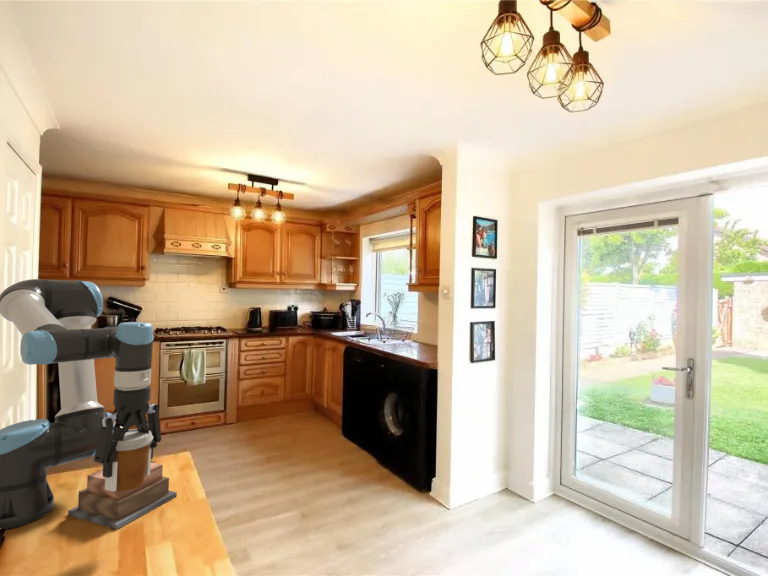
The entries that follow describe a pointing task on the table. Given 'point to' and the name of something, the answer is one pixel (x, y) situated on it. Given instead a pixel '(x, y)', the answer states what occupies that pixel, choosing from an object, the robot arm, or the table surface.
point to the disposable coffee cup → (132, 459)
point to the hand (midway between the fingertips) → (128, 481)
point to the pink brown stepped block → (121, 499)
